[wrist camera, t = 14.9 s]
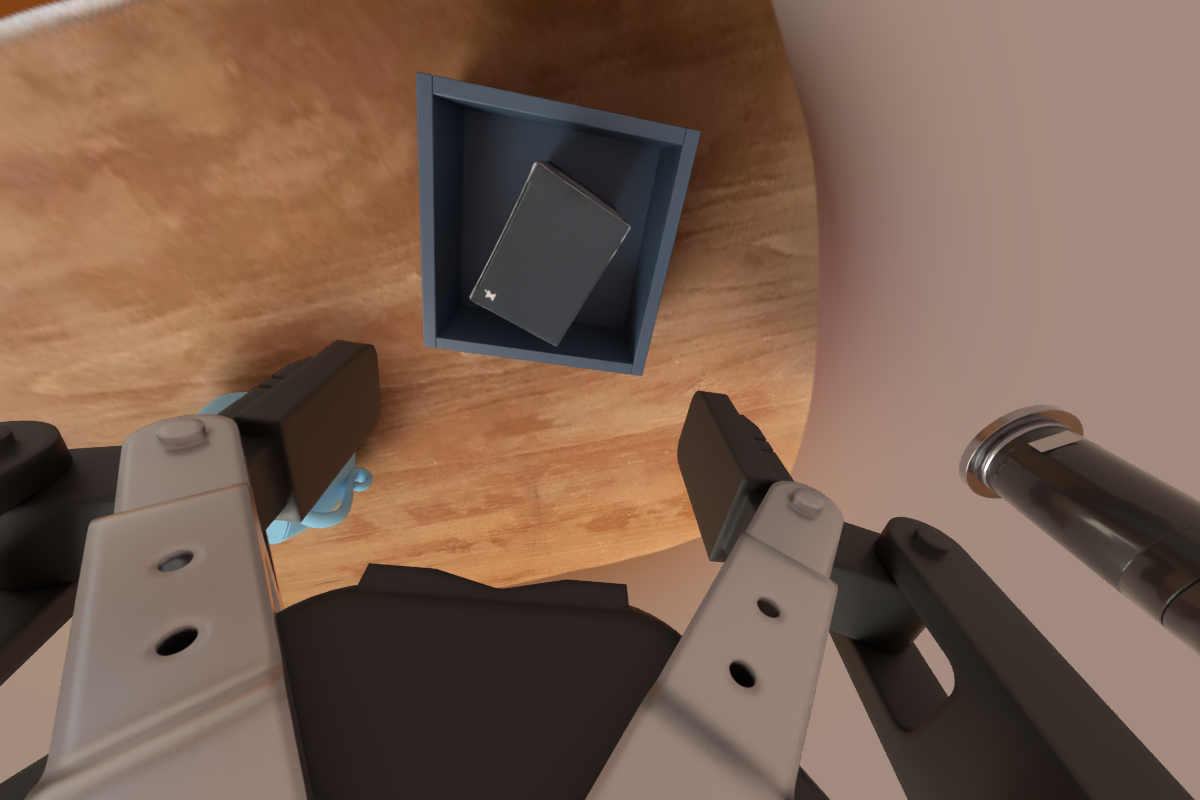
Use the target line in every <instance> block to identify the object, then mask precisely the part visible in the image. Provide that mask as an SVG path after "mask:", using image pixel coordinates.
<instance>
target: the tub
mask: <svg viewBox="0 0 1200 800" xmlns="http://www.w3.org/2000/svg"><path fill="white" fill-rule="evenodd" d="M416 91H417V126H418V160H419V195H420V230H421V265H422V300H423V335H424V347H431V348H437V349H445V350H452V351H459V352H467V353H474V354H482V355H489V356H497V357H504V358H511V359H519V360H526V361H534V362H541V363H549V364H556V365H563V366H571V367H578V368H586V369H593V370H601V371H608V372H615V373H623V374H631V375H638V376H642V374H643V370H644V366H645V362H646V358H647V354H648V349H649V345H650V341H651V337H652V333H653V329H654V325H655V320H656V316H657V312H658V308H659V304H660V300H661V296H662V291H663V287H664V283H665V279H666V275H667V271H668V266H669V262H670V258H671V254H672V250H673V246H674V242H675V237H676V233H677V229H678V225H679V221H680V217H681V213H682V208H683V204H684V200H685V196H686V192H687V188H688V184H689V179H690V175H691V171H692V167H693V163H694V159H695V154H696V150H697V146H698V142H699V138H700V134H701V131H698V130H693V129H688V128H687V129H686V128H683V127H679V126H674V125H669V124H664V123H659V122H655V121H650V120H645V119H640V118H636V117H631V116H626V115H621V114H617V113H612V112H607V111H602V110H598V109H593V108H588V107H583V106H578V105H574V104H569V103H564V102H559V101H555V100H550V99H545V98H540V97H536V96H531V95H526V94H521V93H516V92H512V91H507V90H502V89H497V88H493V87H488V86H483V85H478V84H474V83H469V82H464V81H459V80H455V79H450V78H445V77H440V76H435V75H434V76H433V75H431V74H426V73H421V72H416ZM536 161H550V162H552V163H553V164H555V165H556V166H558V167H559V168H560V169H562V170H563V171H565V172H566V173H567V174H569V175H570V176H572V177H573V178H574V179H576V180H577V181H579V182H580V183H582V184H583V185H584V186H586V187H587V188H589V189H590V190H591V191H593V192H594V193H596V194H597V195H598V196H600V197H601V198H603V199H604V200H605V201H607V202H608V203H610V204H611V205H613V206H614V207H615V208H616V210H617V211H618V212H619V213H620V215H621V216H622V217H623V218H624V219H625V220H626V222H627V223H628V224H629V225H630V227H631V228H630V230H629V232H628V233H627V235H626V236H625V238H624V240H623V241H622V243H621V244H620V246H619V248H618V249H617V251H616V252H615V254H614V256H613V257H612V259H611V260H610V262H609V264H608V265H607V267H606V269H605V270H604V272H603V273H602V275H601V277H600V278H599V280H598V281H597V283H596V285H595V287H594V288H593V290H592V291H591V293H590V294H589V296H588V298H587V299H586V301H585V303H584V304H583V306H582V307H581V309H580V311H579V312H578V314H577V315H576V317H575V319H574V320H573V322H572V323H571V325H570V327H569V328H568V330H567V332H566V333H565V335H564V337H563V338H562V340H561V341H560V343H559V345H558V346H555V345H553V344H551V343H549V342H547V341H545V340H543V339H541V338H539V337H537V336H535V335H534V334H532V333H530V332H528V331H526V330H525V329H523V328H521V327H519V326H517V325H515V324H514V323H512V322H510V321H508V320H506V319H505V318H503V317H501V316H499V315H497V314H496V313H494V312H492V311H490V310H488V309H486V308H484V307H482V306H481V305H479V304H477V303H475V302H473V301H471V299H470V295H471V293H472V291H473V289H474V287H475V285H476V283H477V281H478V280H479V278H480V276H481V274H482V272H483V270H484V268H485V266H486V264H487V262H488V260H489V258H490V256H491V254H492V252H493V250H494V248H495V246H496V244H497V242H498V240H499V238H500V236H501V234H502V232H503V230H504V228H505V226H506V224H507V222H508V220H509V217H510V215H511V213H512V211H513V209H514V207H515V205H516V202H517V200H518V198H519V196H520V194H521V192H522V190H523V188H524V185H525V183H526V181H527V179H528V176H529V174H530V172H531V169H532V166H533V164H534V163H535V162H536Z"/></svg>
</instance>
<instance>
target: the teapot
mask: <svg viewBox="0 0 1200 800" xmlns="http://www.w3.org/2000/svg"><path fill="white" fill-rule="evenodd" d="M247 393H248V392H234V393H229V394H225V395H221V396H219V397H217V398H215V399H213V400H212V401H211V402H209V403H208V404H207V405H205V406H204V407H203V408H202V409H201V410H200V411H199V412H198V413H197V414H215V415H217V414H218V413H220V412H221V411H222V410H224V409H225V408H227V407H228V406H229V405H231V404H232V403H234V402H235V401H237V400H238V399H239V398H241V397H242V396H244V395H245V394H247ZM355 463H356V452H355V453H354V454H353V456H352V457H351V458H350V460H349V461H348V462H347V464H346V465H345V466H344V467H343V469H342V470H341V471H340V473H339V474H338V475H337V477H336V478H335V479H334V480H333V482H332V483H331V484H330V486H329V487H328V488H327V490H326V491H325V492H324V493H323V495H322V496H321V497H320V499H319V500H318V501H317V503H316V504H315V505H314V506H313V508H312V509H311V510H310V512H309V513H308V514H307V516H306V517H305V518H304V519H303V521H302V522H290V521H279V520H274V521H273V522H272V523H271V524H270V526H269V527H268V528H267V529H266V532H267V535H268V539H269V543H270V544H276V543H279V542H282V541H284V540H287V539H289V538H291V537H293V536H295V535H297V534H299V533H301V532H302V531H304V530H306V529H308V528H310V527H314V528H325V527H330V526H334V525H336V524H338V523H340V522H341V521H343V520H344V519H345V518H346V516H347V515H348V513H349V511H350V509H351V506H352V501H353V490H354V491H358V492H361V491H365V490H366V489H368V488H369V487H370V486H371V484H372V481H373V477H372V475H371V473H370V472H369V471H367V470H366V469H364V468H359V467H358V468H355ZM355 481H360V482H362V483H358V482H355ZM341 501H342V503H341V505H340V507H339V509H337V510H336V511H333V512H331V511H332V510H333V509H334V508H335V507H336V506H337V505H338V504H339V503H340V502H341Z"/></svg>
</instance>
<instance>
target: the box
mask: <svg viewBox="0 0 1200 800" xmlns="http://www.w3.org/2000/svg"><path fill="white" fill-rule="evenodd" d="M630 228H631V227H630V225H629V224H628V223H627V222H626V220H625V219H624V218H623V217H622V216H621V215H620V213H619V212H618V211H617V210H616V208H615V207H614V206H613V205H611V204H610V203H608V202H607V201H605V200H604V199H603V198H601V197H600V196H598V195H597V194H596V193H594V192H593V191H591V190H590V189H589V188H587V187H586V186H584V185H583V184H582V183H580V182H579V181H577V180H576V179H574V178H573V177H572V176H570V175H569V174H567V173H566V172H565V171H563V170H562V169H560V168H559V167H558V166H556V165H555V164H553V163H552V162H550V161H536V162H535V163H534V164H533V166H532V169H531V172H530V174H529V176H528V179H527V181H526V183H525V185H524V188H523V190H522V192H521V194H520V196H519V198H518V200H517V202H516V205H515V207H514V209H513V211H512V213H511V215H510V217H509V220H508V222H507V224H506V226H505V228H504V230H503V232H502V234H501V236H500V238H499V240H498V242H497V244H496V246H495V248H494V250H493V252H492V254H491V256H490V258H489V260H488V262H487V264H486V266H485V268H484V270H483V272H482V274H481V276H480V278H479V280H478V281H477V283H476V285H475V287H474V289H473V291H472V293H471V295H470V299H471V301H473V302H475V303H477V304H479V305H481V306H482V307H484V308H486V309H488V310H490V311H492V312H494V313H496V314H497V315H499V316H501V317H503V318H505V319H506V320H508V321H510V322H512V323H514V324H515V325H517V326H519V327H521V328H523V329H525V330H526V331H528V332H530V333H532V334H534V335H535V336H537V337H539V338H541V339H543V340H545V341H547V342H549V343H551V344H553V345H555V346H558V345H559V343H560V341H561V340H562V338H563V337H564V335H565V333H566V332H567V330H568V328H569V327H570V325H571V323H572V322H573V320H574V319H575V317H576V315H577V314H578V312H579V311H580V309H581V307H582V306H583V304H584V303H585V301H586V299H587V298H588V296H589V294H590V293H591V291H592V290H593V288H594V287H595V285H596V283H597V281H598V280H599V278H600V277H601V275H602V273H603V272H604V270H605V269H606V267H607V265H608V264H609V262H610V260H611V259H612V257H613V256H614V254H615V252H616V251H617V249H618V248H619V246H620V244H621V243H622V241H623V240H624V238H625V236H626V235H627V233H628V232H629V230H630Z"/></svg>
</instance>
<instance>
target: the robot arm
mask: <svg viewBox="0 0 1200 800" xmlns="http://www.w3.org/2000/svg"><path fill="white" fill-rule="evenodd" d="M380 409H381V398H380V386H379V374H378V362H377V353H376V350H375V348H374V346H373V345H370V344H363V343H356V342H348V341H341V340H336V341H335V342H333V343H332V344H330V345H329V346H328V347H326V348H325V349H324V350H322V351H321V352H320V353H318V354H317V355H316V356H314V357H308V358H305V359H303V360H300V361H297V362H294V363H291V364H288V365H287V366H285V367H284V368H282V369H281V370H279V371H278V372H277V373H275V374H274V375H272V378H268V379H267V380H265V381H264V382H262V383H261V384H259V388H258V387H255V388H254V389H252V390H251V391H249V392H248V393H247V394H245V395H244V396H242V397H241V398H239V399H238V400H237V401H235V402H234V403H232V404H231V405H229V406H228V407H227V408H225V409H224V410H222V411H221V412H220V413H218V414H217V415H215V414H191V415H183V416H178V417H172V418H168V419H164V420H161V421H158V422H155V423H152V424H150V425H147V426H145V427H143V428H141V429H139V430H137V431H136V432H134V433H133V434H131V435H130V436H129V437H128V438H127V439H126V440H125V441H124V443H123V445H122V446H110V447H94V448H79V449H68V448H67V446H66V444H65V442H64V440H63V438H62V436H61V434H60V432H59V430H58V429H57V428H56V427H55V426H53V425H51V424H49V423H45V422H38V421H8V422H0V686H1V685H2V684H3V683H4V682H5V681H6V680H7V679H8V678H9V677H10V676H11V675H12V674H13V673H14V672H15V671H16V670H17V669H19V668H20V667H21V666H22V665H23V664H24V663H25V662H26V660H28V659H29V658H30V657H31V656H32V655H33V654H34V653H35V652H36V651H37V650H38V649H39V648H40V647H41V646H42V645H43V644H44V643H45V642H46V641H47V640H48V639H49V638H50V637H52V636H53V635H54V634H55V633H56V632H57V631H58V630H59V629H60V628H61V627H62V626H63V625H64V624H65V623H66V622H67V621H68V620H69V619H70V618H71V617H72V616H73V618H72V624H71V629H70V635H69V640H68V646H67V652H66V658H65V663H64V669H63V675H62V681H61V686H60V692H59V698H58V703H57V709H56V715H55V721H54V726H53V732H52V738H51V744H50V750H49V754H47V755H46V756H44V757H43V758H41V759H39V760H38V761H36V762H35V763H33V764H31V765H30V766H28V767H27V768H25V769H23V770H22V771H20V772H18V773H17V774H15V775H14V776H12V777H10V778H9V779H7V780H6V781H4V782H2V783H1V784H0V800H830V799H829V798H828V797H827V796H826V795H825V793H824V792H823V791H822V790H821V789H820V788H819V787H818V786H817V784H816V783H815V782H814V781H813V780H812V779H811V778H810V777H809V776H808V774H807V773H806V772H805V771H804V770H803V769H802V768H801V767H800V760H801V755H802V750H803V746H804V742H805V737H806V733H807V728H808V723H809V718H810V714H811V710H812V705H813V701H814V696H815V692H816V687H817V682H818V677H819V673H820V669H821V664H822V659H823V655H824V650H825V646H826V641H827V636H828V632H829V633H830V635H831V637H832V639H833V641H834V643H835V646H836V648H837V650H838V652H839V654H840V656H841V658H842V660H843V663H844V665H845V667H846V669H847V671H848V673H849V675H850V678H851V680H852V682H853V684H854V686H855V688H856V690H857V692H858V695H859V696H860V699H861V701H862V703H863V705H864V707H865V710H866V712H867V714H868V716H869V718H870V720H871V722H872V724H873V726H874V729H875V731H876V733H877V735H878V737H879V739H880V741H881V744H882V745H883V748H884V750H885V752H886V754H887V756H888V758H889V760H890V763H891V765H892V767H893V769H894V771H895V773H896V775H897V778H898V780H899V782H900V784H901V786H902V788H903V790H904V792H905V795H906V797H907V799H908V800H1194V799H1193V798H1192V797H1191V795H1190V794H1189V793H1188V792H1187V791H1186V790H1185V789H1184V788H1183V787H1182V785H1180V783H1179V782H1178V781H1177V780H1176V779H1175V778H1174V777H1173V776H1172V775H1171V774H1170V772H1169V771H1168V770H1167V769H1166V768H1165V767H1164V766H1163V765H1162V764H1161V763H1160V762H1159V761H1158V759H1157V758H1156V757H1155V756H1154V755H1153V754H1152V753H1151V752H1150V751H1149V750H1148V749H1147V748H1146V747H1145V745H1144V744H1143V743H1142V742H1141V741H1140V740H1139V739H1138V738H1137V737H1136V736H1135V734H1134V733H1133V732H1132V731H1131V730H1130V729H1129V728H1128V727H1127V726H1126V725H1125V724H1124V723H1123V722H1122V720H1121V719H1120V718H1119V717H1118V716H1117V715H1116V714H1115V713H1114V712H1113V711H1112V710H1111V708H1110V707H1109V706H1108V705H1107V704H1106V703H1105V702H1104V701H1103V700H1102V699H1101V698H1100V697H1099V696H1098V694H1097V693H1096V692H1095V691H1094V690H1093V689H1092V688H1091V687H1090V686H1089V685H1088V684H1087V682H1086V681H1085V680H1084V679H1083V678H1082V677H1081V676H1080V675H1079V674H1078V673H1077V672H1076V671H1075V669H1074V668H1073V667H1072V666H1071V665H1070V664H1069V663H1068V662H1067V661H1066V660H1065V659H1064V657H1063V656H1062V655H1061V654H1060V653H1059V652H1058V651H1057V650H1056V649H1055V648H1054V647H1053V646H1052V644H1051V643H1050V642H1049V641H1048V640H1047V639H1046V638H1045V637H1044V636H1043V635H1042V634H1041V633H1040V631H1039V630H1038V629H1037V628H1036V627H1035V626H1034V625H1033V624H1032V623H1031V622H1030V621H1029V620H1028V618H1027V617H1026V616H1025V615H1024V614H1023V613H1022V612H1021V611H1020V610H1019V609H1018V608H1017V607H1016V606H1015V604H1014V603H1013V602H1012V601H1011V600H1010V599H1009V598H1008V597H1007V596H1006V595H1005V593H1004V592H1003V591H1002V590H1001V589H1000V588H999V587H998V586H997V585H996V584H995V583H994V582H993V580H992V579H991V578H990V577H989V576H988V575H987V574H986V573H985V572H984V571H983V570H982V569H981V567H980V566H979V565H978V564H977V563H976V562H975V561H974V560H973V559H972V558H971V557H970V556H969V554H968V553H967V552H966V551H965V550H964V549H963V548H962V547H961V546H960V545H959V544H958V543H956V542H955V541H954V540H953V539H951V538H950V537H949V536H947V535H946V534H944V533H942V532H941V531H940V530H938V529H936V528H934V527H932V526H930V525H928V524H926V523H923V522H920V521H918V520H914V519H911V518H906V517H896V518H892V519H891V520H890V521H889V522H888V523H887V525H886V527H885V528H884V529H883V531H882V532H881V534H880V533H876V532H873V531H870V530H867V529H864V528H861V527H858V526H855V525H852V524H849V523H846V522H844V519H843V515H842V513H841V511H840V510H839V508H838V507H837V506H836V505H835V503H834V502H833V501H831V500H830V499H829V498H828V497H826V496H825V495H824V494H822V493H821V492H819V491H817V490H816V489H813V488H811V487H809V486H807V485H804V484H801V483H797V482H794V480H793V479H792V477H791V476H790V474H789V473H788V471H787V470H786V468H785V467H784V465H783V464H782V462H781V461H780V459H779V458H778V456H777V455H776V453H775V452H773V449H772V447H771V446H770V444H769V443H768V442H766V438H765V437H764V435H763V434H762V432H761V431H760V429H759V428H758V427H757V426H756V425H755V424H754V423H752V422H751V421H750V420H749V419H747V418H746V417H745V416H744V415H739V413H738V412H737V410H736V409H735V407H734V405H733V404H732V402H731V401H730V399H729V397H728V396H727V395H726V394H719V393H712V392H704V391H697V392H696V393H695V394H694V396H693V398H692V401H691V404H690V407H689V410H688V414H687V417H686V420H685V423H684V426H683V430H682V433H681V436H680V439H679V443H678V450H677V458H678V464H679V467H680V470H681V473H682V476H683V480H684V483H685V486H686V489H687V492H688V495H689V498H690V501H691V504H692V507H693V511H694V514H695V517H696V520H697V523H698V526H699V529H700V532H701V535H702V539H703V542H704V545H705V548H706V551H707V554H708V557H709V560H710V561H715V562H725V563H724V564H723V566H722V568H721V570H720V571H719V573H718V575H717V577H716V578H715V580H714V582H713V583H712V585H711V587H710V589H709V590H708V592H707V594H706V596H705V597H704V599H703V601H702V603H701V604H700V606H699V608H698V610H697V611H696V613H695V615H694V617H693V618H692V620H691V622H690V624H689V625H688V627H687V629H686V631H685V632H684V634H683V636H681V635H680V634H679V633H678V632H677V631H676V630H674V629H673V628H671V627H670V626H669V625H667V624H666V623H665V622H663V621H661V620H660V619H658V618H656V617H655V616H653V615H651V614H649V613H647V612H644V611H643V610H640V609H638V608H636V607H633V606H630V605H629V604H628V594H627V585H626V584H615V583H603V582H591V581H578V580H560V581H553V582H546V583H540V584H532V585H525V586H519V587H512V588H504V589H501V588H494V587H491V586H488V585H484V584H481V583H478V582H475V581H472V580H469V579H466V578H463V577H460V576H456V575H453V574H450V573H447V572H444V571H441V570H438V569H432V568H420V567H408V566H395V565H383V564H371V563H369V565H368V566H367V568H366V570H365V572H364V574H363V576H362V578H361V580H360V582H359V584H358V585H354V586H348V587H344V588H340V589H336V590H331V591H328V592H325V593H322V594H319V595H316V596H313V597H310V598H308V599H305V600H303V601H301V602H298V603H296V604H293V605H291V606H289V607H288V608H286V609H284V607H283V602H282V598H281V593H280V588H279V584H278V579H277V575H276V570H275V566H274V561H273V557H272V552H271V548H270V543H269V539H268V535H267V532H266V529H267V528H268V527H269V526H270V524H271V523H272V522H273V521H274V520H279V521H290V522H302V521H303V519H304V518H305V517H306V516H307V514H308V513H309V512H310V510H311V509H312V508H313V506H314V505H315V504H316V503H317V501H318V500H319V499H320V497H321V496H322V495H323V493H324V492H325V491H326V490H327V488H328V487H329V486H330V484H331V483H332V482H333V480H334V479H335V478H336V477H337V475H338V474H339V473H340V471H341V470H342V469H343V467H344V466H345V465H346V464H347V462H348V461H349V460H350V458H351V457H352V456H353V454H354V453H355V452H356V451H357V449H358V448H359V447H360V445H361V444H362V443H363V441H364V440H365V439H366V438H367V436H368V435H369V434H370V432H371V431H372V430H373V428H374V427H375V426H376V424H377V421H378V418H379V415H380ZM979 478H980V480H981V482H982V483H983V484H984V485H985V486H986V487H987V488H989V489H990V490H991V491H993V492H995V493H996V494H998V495H999V496H1000V497H1001V498H1003V499H1004V500H1005V501H1007V502H1008V503H1009V504H1010V505H1011V506H1013V507H1014V508H1015V509H1016V510H1017V511H1019V512H1020V513H1021V514H1022V515H1024V516H1025V517H1026V518H1027V519H1029V520H1030V521H1031V522H1032V523H1034V524H1035V525H1036V526H1038V527H1039V528H1040V529H1041V530H1042V531H1044V532H1045V533H1046V534H1047V535H1049V536H1050V537H1051V538H1053V539H1054V540H1055V541H1056V542H1057V543H1059V544H1060V545H1061V546H1062V547H1064V548H1065V549H1066V550H1068V551H1069V552H1070V553H1071V554H1072V555H1074V556H1075V557H1076V558H1077V559H1079V560H1080V561H1081V562H1082V563H1084V564H1085V565H1086V566H1088V567H1089V568H1090V569H1091V570H1093V571H1094V572H1095V573H1096V574H1097V575H1099V576H1100V577H1101V578H1103V579H1104V580H1105V581H1106V582H1107V583H1109V584H1110V585H1111V586H1113V587H1114V588H1115V589H1116V590H1117V591H1119V592H1120V593H1121V594H1123V595H1124V596H1125V597H1126V598H1128V599H1129V600H1130V601H1131V602H1133V603H1134V604H1135V605H1137V606H1138V607H1139V608H1140V609H1141V610H1143V611H1144V612H1145V613H1146V614H1148V615H1149V616H1150V617H1152V618H1153V619H1154V620H1155V621H1157V622H1158V623H1159V624H1160V625H1161V626H1163V627H1164V628H1166V629H1167V630H1168V631H1169V632H1170V633H1172V634H1173V635H1174V636H1175V637H1177V638H1178V639H1179V640H1180V641H1182V642H1183V643H1184V644H1185V645H1187V646H1188V647H1189V648H1190V649H1191V650H1193V651H1194V652H1195V653H1196V654H1197V655H1198V656H1199V657H1200V501H1198V500H1196V499H1195V498H1193V497H1191V496H1189V495H1187V494H1185V493H1184V492H1182V491H1180V490H1178V489H1177V488H1175V487H1173V486H1171V485H1169V484H1168V483H1166V482H1164V481H1162V480H1160V479H1159V478H1157V477H1155V476H1153V475H1151V474H1150V473H1148V472H1146V471H1144V470H1142V469H1140V468H1139V467H1137V466H1135V465H1133V464H1131V463H1130V462H1128V461H1126V460H1124V459H1122V458H1121V457H1119V456H1117V455H1115V454H1113V453H1111V452H1109V451H1108V450H1106V449H1104V448H1102V447H1101V446H1099V445H1097V444H1095V443H1093V442H1092V441H1090V440H1088V439H1086V438H1085V437H1083V436H1081V435H1079V434H1077V433H1075V432H1074V431H1073V430H1072V429H1070V428H1069V427H1067V426H1065V425H1063V424H1061V423H1059V422H1055V421H1038V422H1033V423H1030V424H1026V425H1024V426H1021V427H1019V428H1017V429H1015V430H1013V431H1011V432H1009V433H1008V434H1006V435H1005V436H1003V437H1002V438H1000V439H999V440H998V441H997V442H996V443H995V444H993V445H992V446H991V448H990V449H989V450H988V451H987V452H986V454H985V455H984V457H983V459H982V461H981V463H980V466H979ZM925 627H927V629H928V630H929V631H930V633H931V634H932V636H933V637H934V639H935V640H936V642H937V643H938V645H939V646H940V648H941V649H942V651H943V652H944V653H945V655H946V656H947V658H948V660H949V661H950V664H951V666H952V668H953V672H954V678H955V686H954V690H953V692H952V694H951V695H950V696H949V697H948V696H947V694H946V692H945V691H944V689H943V688H942V686H941V685H940V683H939V682H938V680H937V678H936V677H935V675H934V674H933V672H932V670H931V669H930V667H929V666H928V664H927V663H926V661H925V659H924V658H923V656H922V655H921V653H920V652H919V650H918V648H917V647H916V645H915V644H914V642H913V641H914V640H915V639H916V638H917V637H918V635H919V634H920V633H921V632H922V631H923V630H924V628H925Z"/></svg>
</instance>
